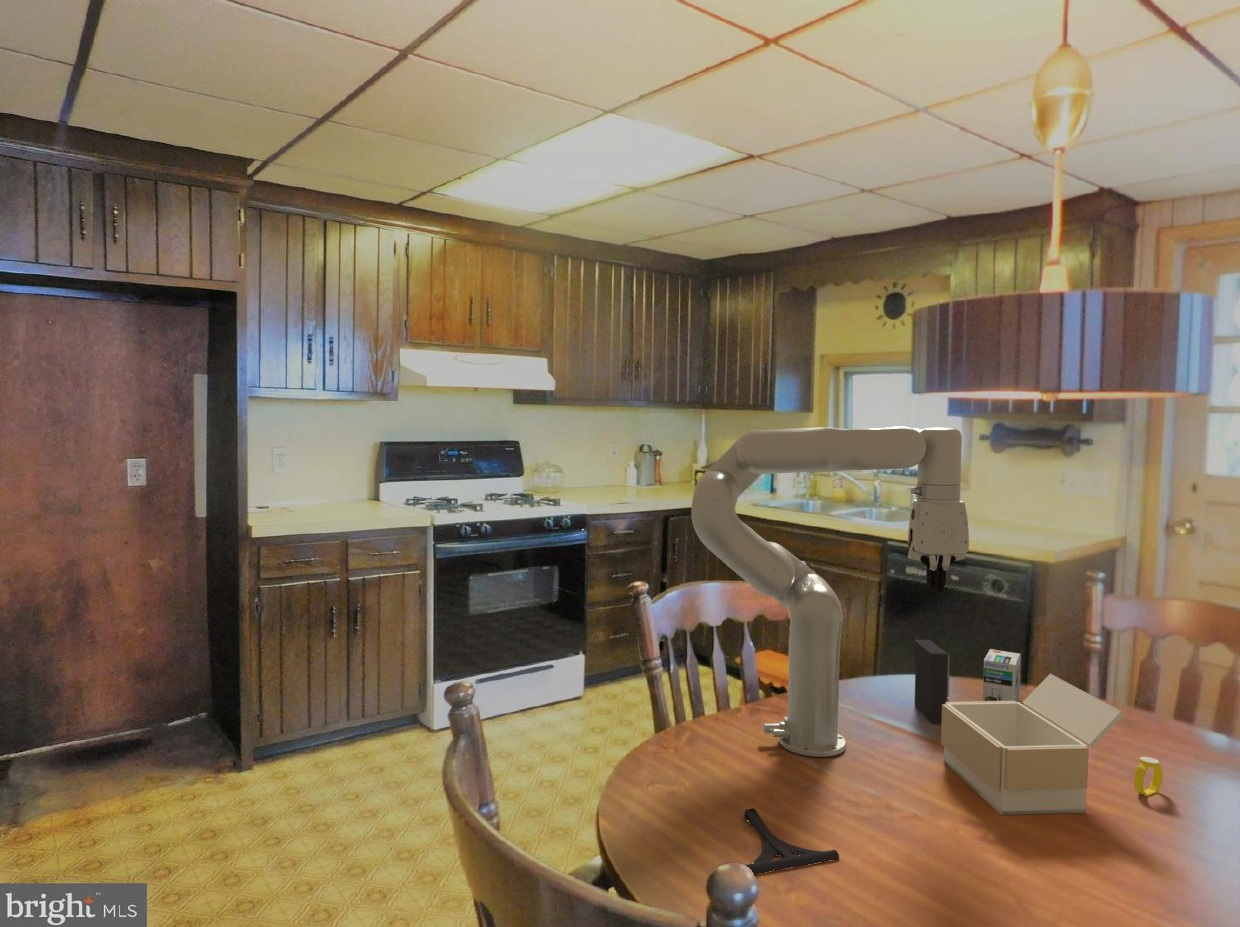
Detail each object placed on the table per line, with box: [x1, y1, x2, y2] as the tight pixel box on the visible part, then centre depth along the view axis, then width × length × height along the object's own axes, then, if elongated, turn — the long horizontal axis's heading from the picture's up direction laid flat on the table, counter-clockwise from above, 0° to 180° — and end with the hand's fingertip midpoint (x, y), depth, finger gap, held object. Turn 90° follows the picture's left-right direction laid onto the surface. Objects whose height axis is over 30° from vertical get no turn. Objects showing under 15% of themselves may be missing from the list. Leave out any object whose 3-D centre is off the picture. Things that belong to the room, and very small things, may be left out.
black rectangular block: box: [912, 639, 951, 725], centre depth 172 cm, size 11×4×15 cm, turn 179°
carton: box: [940, 700, 1090, 816], centre depth 139 cm, size 15×22×11 cm
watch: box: [1133, 756, 1163, 797], centre depth 137 cm, size 6×3×6 cm, turn 117°
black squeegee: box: [743, 807, 840, 876], centre depth 121 cm, size 14×15×3 cm
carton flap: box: [1022, 673, 1125, 748], centre depth 139 cm, size 7×19×1 cm
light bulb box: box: [982, 648, 1022, 703], centre depth 179 cm, size 11×7×11 cm, turn 149°
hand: (935, 589), depth 152 cm, fingers closed
